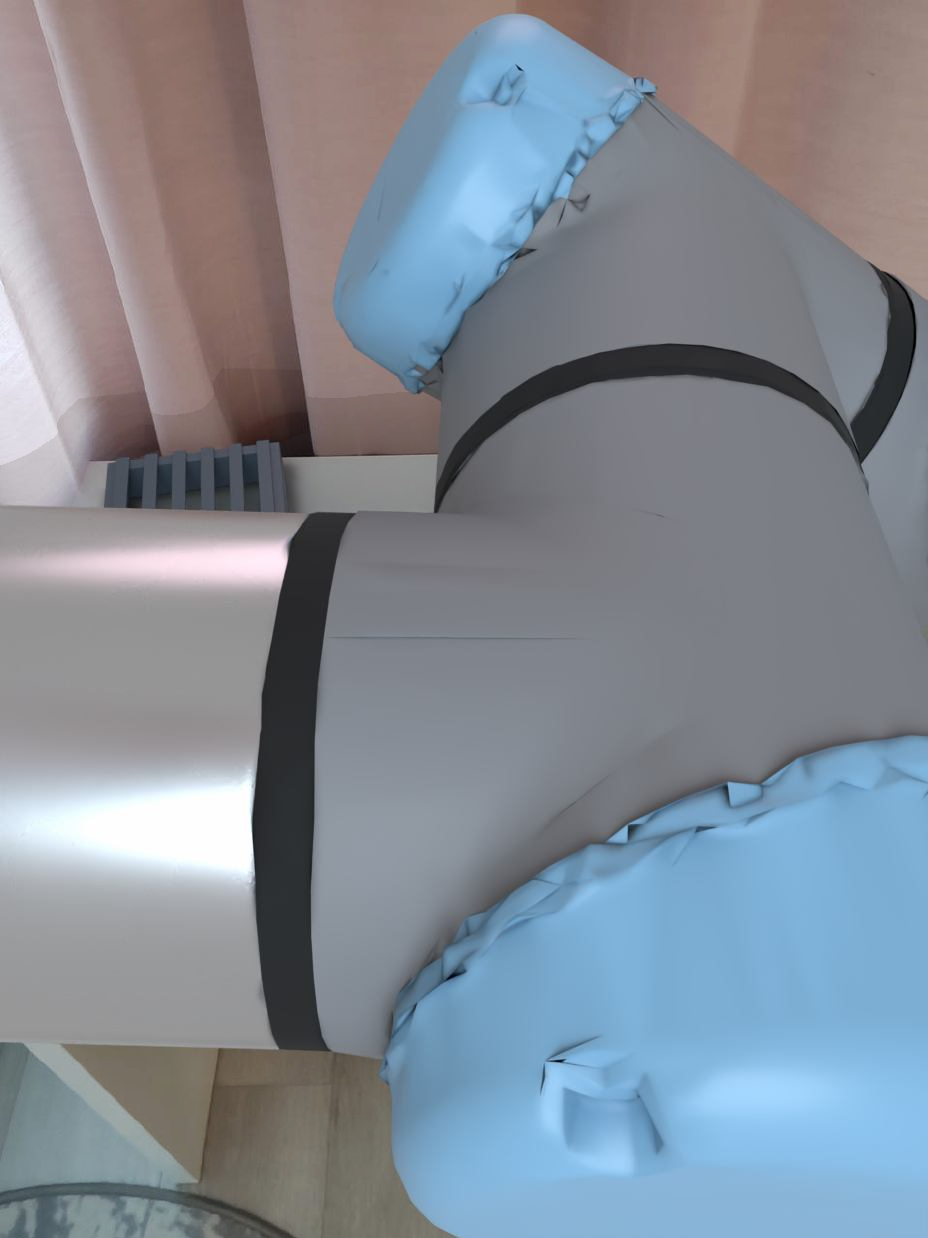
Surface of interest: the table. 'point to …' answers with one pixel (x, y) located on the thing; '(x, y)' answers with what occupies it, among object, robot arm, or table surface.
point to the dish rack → (200, 477)
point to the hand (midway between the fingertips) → (406, 654)
